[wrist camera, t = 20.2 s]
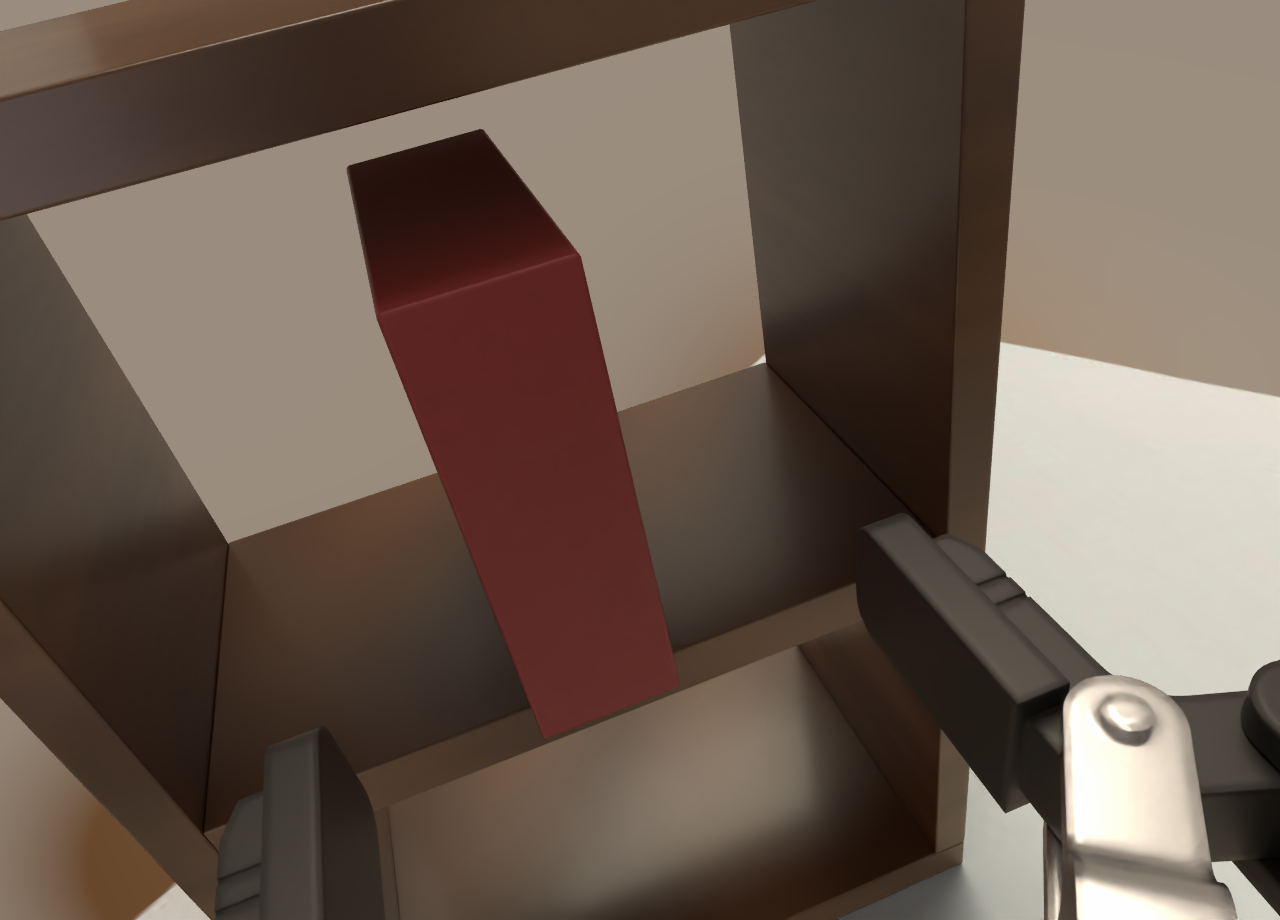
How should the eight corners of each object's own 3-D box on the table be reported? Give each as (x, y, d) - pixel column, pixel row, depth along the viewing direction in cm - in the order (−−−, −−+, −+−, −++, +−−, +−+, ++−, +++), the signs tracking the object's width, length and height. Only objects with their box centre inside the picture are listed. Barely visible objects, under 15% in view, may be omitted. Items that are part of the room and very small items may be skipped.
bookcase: (821, 655, 42) (754, -149, 23) (963, 863, 33) (1038, -163, 14) (372, 833, 38) (-131, 62, 20) (397, 1117, 30) (-465, 212, 11)
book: (580, 479, 28) (482, 126, 22) (681, 687, 21) (581, 253, 14) (476, 515, 28) (344, 164, 21) (544, 741, 20) (375, 315, 14)
